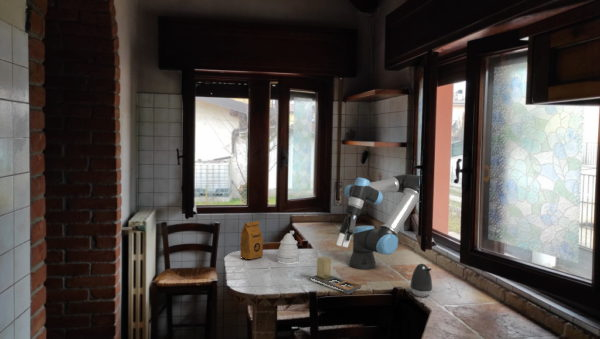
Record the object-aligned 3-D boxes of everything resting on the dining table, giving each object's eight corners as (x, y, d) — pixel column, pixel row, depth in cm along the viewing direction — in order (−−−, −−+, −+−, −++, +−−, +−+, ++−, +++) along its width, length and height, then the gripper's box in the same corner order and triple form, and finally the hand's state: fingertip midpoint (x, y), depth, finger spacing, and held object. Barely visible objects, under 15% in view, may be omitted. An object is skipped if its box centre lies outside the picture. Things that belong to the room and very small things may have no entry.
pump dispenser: (421, 300, 214) (423, 268, 213) (405, 293, 223) (406, 262, 222) (436, 296, 220) (438, 265, 219) (419, 289, 229) (421, 259, 227)
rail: (323, 276, 245) (324, 272, 244) (360, 289, 226) (360, 285, 226) (310, 280, 238) (310, 276, 238) (347, 294, 220) (347, 289, 219)
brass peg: (323, 278, 241) (324, 256, 240) (330, 281, 238) (331, 258, 237) (316, 280, 238) (317, 257, 237) (323, 283, 234) (324, 260, 233)
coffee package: (265, 258, 276) (265, 221, 274) (248, 261, 268) (249, 224, 266) (254, 254, 283) (255, 219, 281) (238, 258, 275) (238, 221, 273)
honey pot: (300, 258, 277) (300, 229, 275) (297, 265, 264) (298, 234, 263) (278, 257, 278) (279, 228, 277) (275, 263, 266) (276, 232, 264)
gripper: (342, 205, 251) (329, 242, 248) (354, 203, 226) (340, 244, 223) (354, 209, 252) (342, 247, 248) (368, 208, 227) (354, 250, 224)
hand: (341, 246), depth 236 cm, fingers open, 13 cm apart
